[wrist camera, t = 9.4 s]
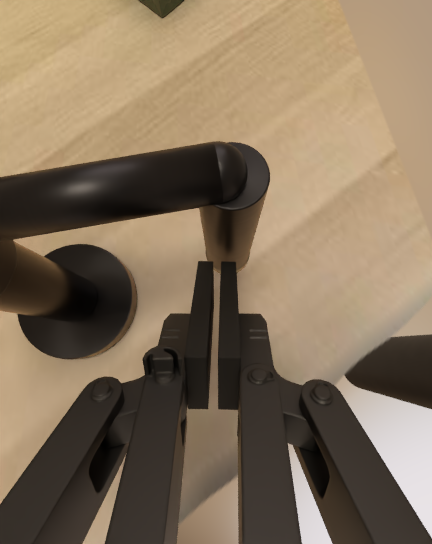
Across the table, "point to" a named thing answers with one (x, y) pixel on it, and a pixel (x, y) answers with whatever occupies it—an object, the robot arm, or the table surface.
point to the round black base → (71, 300)
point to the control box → (161, 5)
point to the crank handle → (142, 197)
